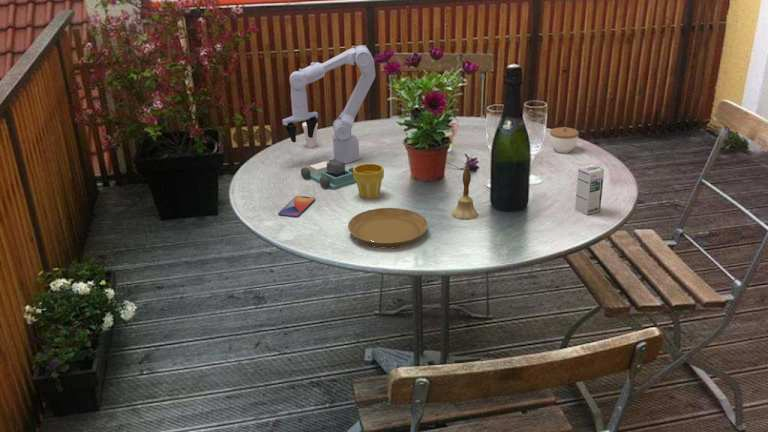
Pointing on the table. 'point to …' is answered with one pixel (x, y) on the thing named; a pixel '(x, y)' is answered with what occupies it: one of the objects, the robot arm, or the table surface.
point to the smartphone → (297, 206)
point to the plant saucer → (387, 227)
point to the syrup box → (589, 189)
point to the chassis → (327, 176)
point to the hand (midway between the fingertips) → (302, 139)
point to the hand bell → (465, 200)
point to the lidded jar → (563, 139)
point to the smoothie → (309, 141)
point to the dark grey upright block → (336, 168)
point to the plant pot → (368, 179)
